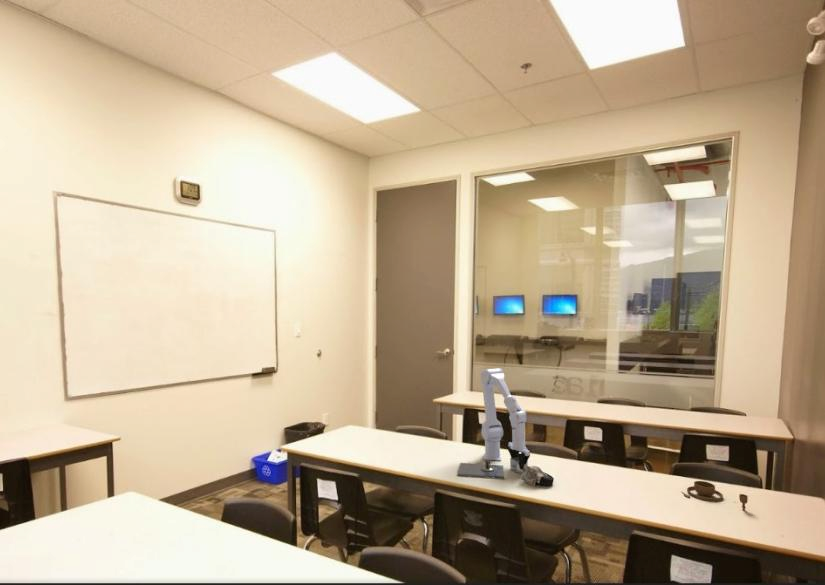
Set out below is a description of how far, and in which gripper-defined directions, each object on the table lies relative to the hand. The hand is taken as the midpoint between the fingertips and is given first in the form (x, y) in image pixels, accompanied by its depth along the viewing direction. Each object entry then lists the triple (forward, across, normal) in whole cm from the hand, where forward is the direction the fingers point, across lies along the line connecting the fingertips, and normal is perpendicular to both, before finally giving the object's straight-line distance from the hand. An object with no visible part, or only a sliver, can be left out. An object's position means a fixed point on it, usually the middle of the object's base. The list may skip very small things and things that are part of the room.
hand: (519, 467), depth 203 cm
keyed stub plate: (+1, -4, -17) cm, 18 cm away
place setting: (+2, +52, +52) cm, 74 cm away
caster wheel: (+2, +16, 0) cm, 16 cm away
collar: (+1, 0, 0) cm, 1 cm away
